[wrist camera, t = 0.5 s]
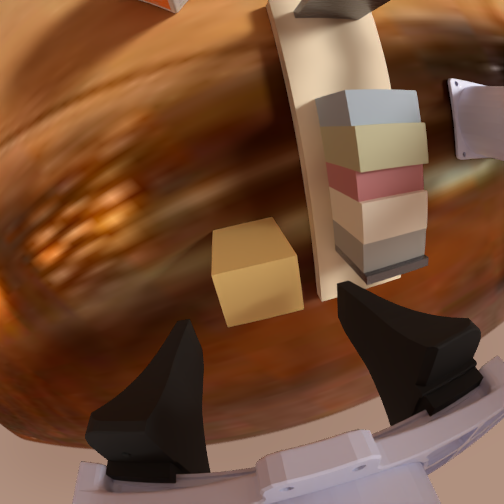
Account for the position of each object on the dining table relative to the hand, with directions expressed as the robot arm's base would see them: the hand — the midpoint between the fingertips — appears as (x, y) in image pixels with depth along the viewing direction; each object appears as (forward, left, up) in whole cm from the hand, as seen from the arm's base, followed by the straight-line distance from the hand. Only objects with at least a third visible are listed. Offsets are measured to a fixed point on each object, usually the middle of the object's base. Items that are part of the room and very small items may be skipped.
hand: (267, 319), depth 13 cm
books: (-9, -4, -8) cm, 13 cm away
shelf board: (-9, -6, -9) cm, 14 cm away
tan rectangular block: (0, 0, -9) cm, 9 cm away
